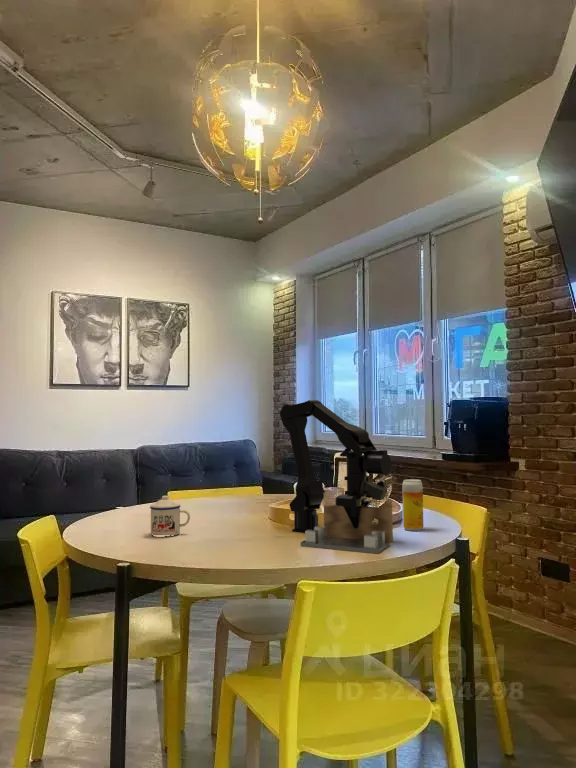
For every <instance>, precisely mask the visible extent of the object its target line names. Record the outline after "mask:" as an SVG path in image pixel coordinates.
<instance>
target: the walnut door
mask: <svg viewBox="0 0 576 768" xmlns="http://www.w3.org/2000/svg"><path fill="white" fill-rule="evenodd" d="M323 524H324V525H323V526H327V536H329V537H340V538H351V539H363V540H364V536H365V535H372V531H374V530H377V531H385V542H390V543H391V542H393V541H394V537H393V535H394V534H393V533H394V530H393V529H394V526H393V524H394V523H393V508H391V507H377V506H367V507H364V506H363V508H362V509H361V510H360V516H359V524H358V528H354V527H353V525H352V523H351V521H350V518H349V516H348V514H347V513H346V511H345V509H344V507H342V506H336V505H335V504H333V503H331V504H330V503H329V504H328V503H325V504H323Z"/></svg>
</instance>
